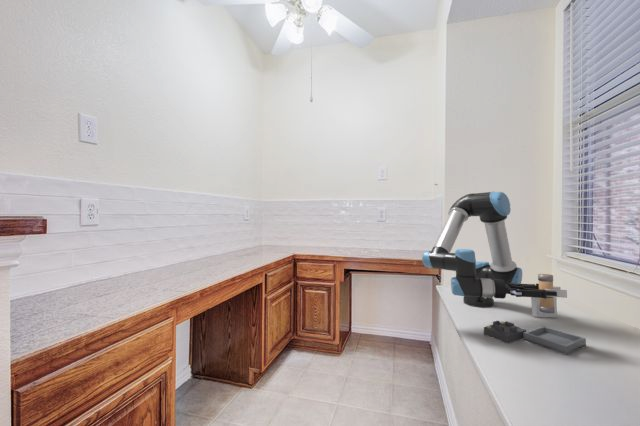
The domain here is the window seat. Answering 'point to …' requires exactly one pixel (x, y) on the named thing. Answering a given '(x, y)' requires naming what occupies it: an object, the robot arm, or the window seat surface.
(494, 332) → the fuse holder
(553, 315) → the grey rounded slab
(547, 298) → the fuse
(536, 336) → the parts tray
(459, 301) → the window seat surface
